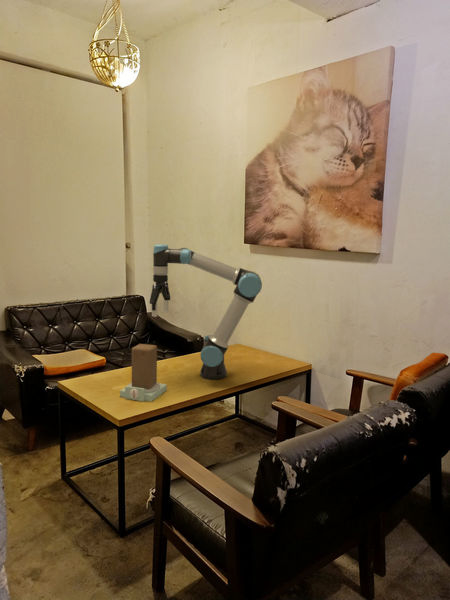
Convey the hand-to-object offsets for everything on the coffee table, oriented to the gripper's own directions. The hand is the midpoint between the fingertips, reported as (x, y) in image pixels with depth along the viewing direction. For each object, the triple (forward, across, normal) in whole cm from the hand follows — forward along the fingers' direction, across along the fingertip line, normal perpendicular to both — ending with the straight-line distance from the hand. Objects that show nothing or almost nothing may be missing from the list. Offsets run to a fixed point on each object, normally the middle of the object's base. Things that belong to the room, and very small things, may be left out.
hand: (160, 314), depth 241 cm
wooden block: (+33, +20, +1) cm, 38 cm away
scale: (+37, +20, +1) cm, 42 cm away
